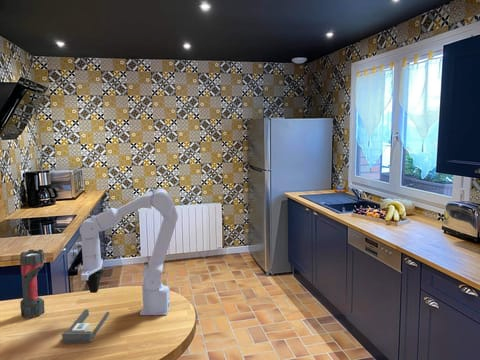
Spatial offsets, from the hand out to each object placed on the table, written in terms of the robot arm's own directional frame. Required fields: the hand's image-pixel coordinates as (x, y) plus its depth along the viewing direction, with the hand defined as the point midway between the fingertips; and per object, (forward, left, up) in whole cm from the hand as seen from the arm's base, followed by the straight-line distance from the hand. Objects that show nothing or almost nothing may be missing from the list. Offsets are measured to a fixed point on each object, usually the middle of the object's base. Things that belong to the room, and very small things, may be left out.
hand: (94, 292), depth 128 cm
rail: (0, +6, -9) cm, 11 cm away
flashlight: (+22, -3, -10) cm, 24 cm away
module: (0, +12, -10) cm, 15 cm away
